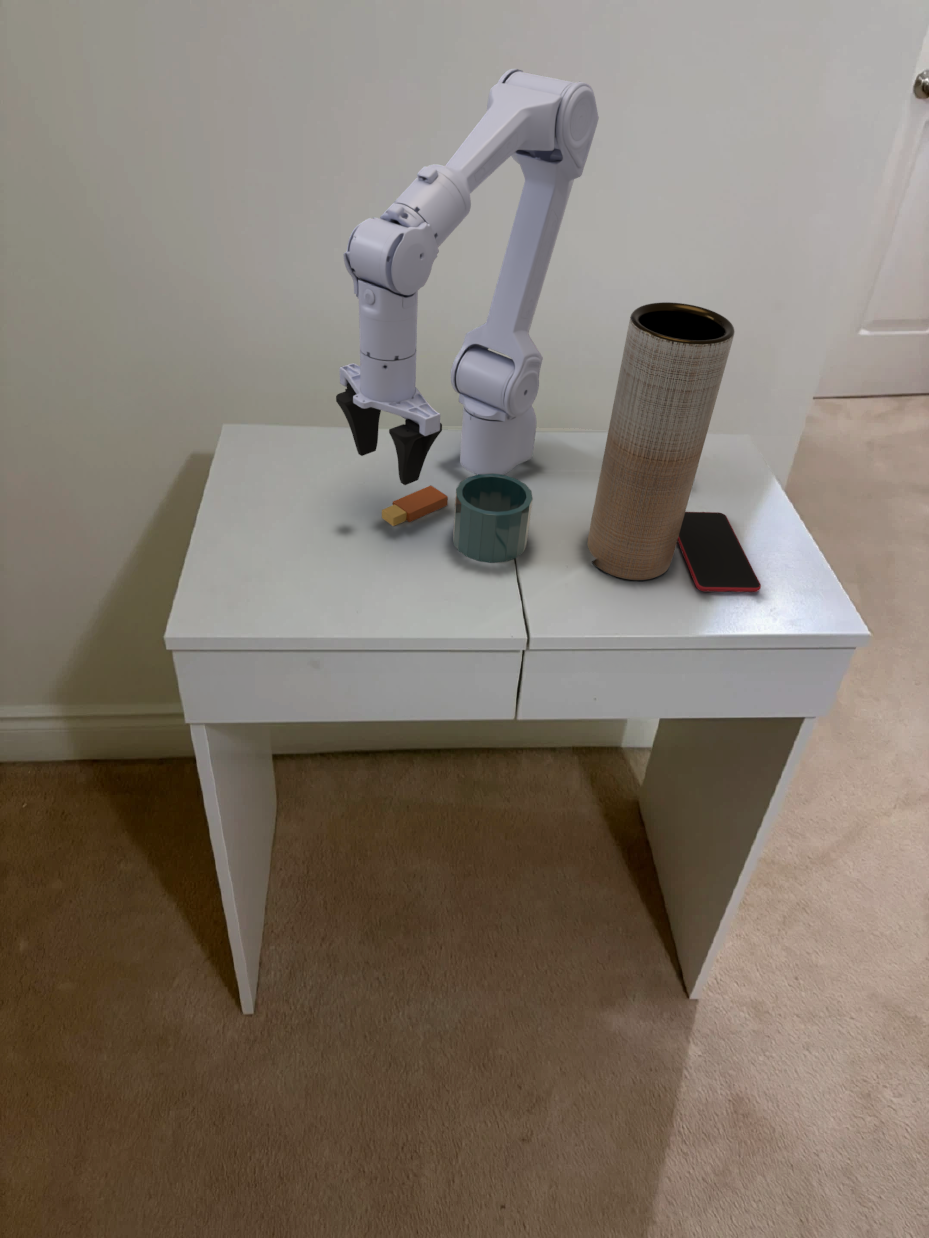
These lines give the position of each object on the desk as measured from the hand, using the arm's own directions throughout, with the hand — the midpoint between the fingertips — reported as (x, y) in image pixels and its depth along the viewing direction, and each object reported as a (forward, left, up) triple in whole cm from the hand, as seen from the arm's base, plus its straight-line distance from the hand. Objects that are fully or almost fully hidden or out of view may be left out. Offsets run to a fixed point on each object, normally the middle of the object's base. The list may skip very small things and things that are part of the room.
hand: (387, 466), depth 94 cm
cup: (-7, +10, -8) cm, 15 cm away
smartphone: (-27, +27, -8) cm, 39 cm away
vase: (-19, +21, -9) cm, 30 cm away
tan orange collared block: (-4, 0, -8) cm, 9 cm away
